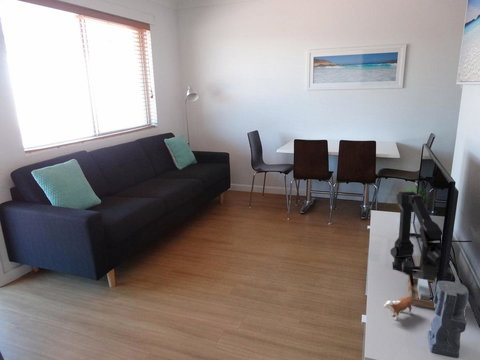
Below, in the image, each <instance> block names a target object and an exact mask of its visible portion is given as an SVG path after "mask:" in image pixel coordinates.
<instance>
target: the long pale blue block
mask: <svg viewBox="0 0 480 360" xmlns="http://www.w3.org/2000/svg"><path fill="white" fill-rule="evenodd" d="M427 280H428V279H423V278H418V285H417V288H418V294H419V299H421V300H427V301H430V298H431V296H430V291H429V286H428V281H427Z"/></svg>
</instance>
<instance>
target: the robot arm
mask: <svg viewBox="0 0 480 360" xmlns="http://www.w3.org/2000/svg"><path fill="white" fill-rule="evenodd" d="M396 201H397V203H396V204H397V205H398V207H399V209H400V214H399V227H398V229H399V231H398V238H397V239H396V240H395V241H394V246H393V247H392V248H391V249H390V250H389V251H390V255H391V256H392V257H393V261H392V264H391V265H392V269H393V270H396V271H397V270H398V271H401V272H402V273H403V274H405V275H408V277H410V280H411V284H412V286H413V278H414V271H417V272H421V279H424V280H431V281H435V280H436V279H437V272H438V269H439V263H440V257H441V235H442V232H443V231H442V229H441V227H440V225H438V223H436V222H435V221H433V219H432V217H431V215H430V213H429V211H428V208H427V206H426V204H425V202H424V197H423V196H422V195H421V194H419V193H416V192H415V191H410V190H409V191H399V192H398V193H397V194H396ZM412 212H414V214H415V217H416V219H417V220H418V223H419V225H420V227H419V230H418V231H419V235H420V242H421V243H422V244H421V252H420V259H419V266H418V265H414V264H413V261H408V259H411V258H412V257H413V255H414V250H415V249H414V247H415V246H414V244H413V242H412V240H411V229H412V228H411V226H412V225H411V224H412V215H413V214H412ZM450 262H451V258H450V257H449V260H448V262H447V265H446V267H448V266H449V264H450ZM453 276H454V275H453V271H452V269H451V267H448V270H447V280H448V281H449V280H450V281H452V280H453Z"/></svg>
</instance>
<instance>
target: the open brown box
mask: <svg viewBox="0 0 480 360" xmlns="http://www.w3.org/2000/svg"><path fill="white" fill-rule="evenodd" d="M418 279H419V278H418V277H413V286H412V284H411V280H410V277H409V276H408V278H407V287H408V297H409V296H410V297H411V299H412V301H413V302H412V305H411V306H416V307H423V308H427V309H434V302H433V301H427V300H421V299H418V298H419V294H418V288H417V285H418ZM426 280H427V281H428V286H429V283H433V281H434V280H433V281H432V280H428V279H426ZM429 291H430V295H431V290H430V286H429ZM434 310H435V309H434Z"/></svg>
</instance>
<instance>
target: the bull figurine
mask: <svg viewBox="0 0 480 360" xmlns="http://www.w3.org/2000/svg"><path fill="white" fill-rule="evenodd" d="M412 302H413V301H412V299H411V297H410V296H409V295H408V296H404V297H402V298H399V299H397V300H396V299H395V300H391V299H388V300H387V301H386V302H385V304H383V308H384V309H389V310H390V311H391V313H392V315H391V316H392V317H394V318H393V320H394V321H398V317H399V314H400V313H403V311H406V310H407V309H408V312H407V315H411V314H412V309H413V307H412V306H413V305H412Z"/></svg>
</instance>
